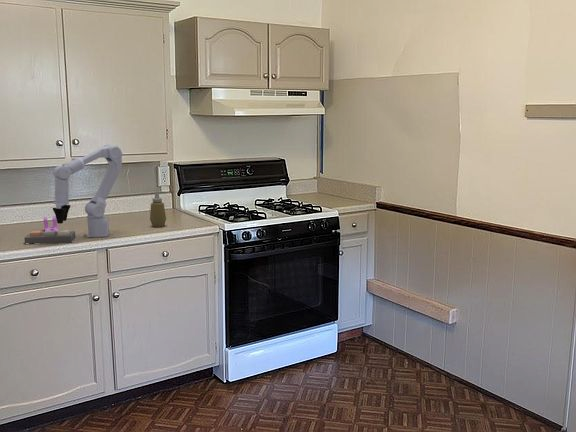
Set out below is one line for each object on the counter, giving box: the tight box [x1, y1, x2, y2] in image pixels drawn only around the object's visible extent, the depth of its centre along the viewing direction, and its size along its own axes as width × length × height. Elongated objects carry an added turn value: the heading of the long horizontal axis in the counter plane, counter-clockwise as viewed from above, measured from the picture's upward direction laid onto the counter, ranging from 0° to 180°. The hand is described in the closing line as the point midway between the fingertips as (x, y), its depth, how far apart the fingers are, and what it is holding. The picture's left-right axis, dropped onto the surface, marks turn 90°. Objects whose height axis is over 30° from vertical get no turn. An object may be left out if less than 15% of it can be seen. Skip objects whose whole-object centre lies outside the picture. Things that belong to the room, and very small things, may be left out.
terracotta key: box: [29, 230, 43, 236], centre depth 270 cm, size 4×4×3 cm
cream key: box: [58, 229, 71, 235], centre depth 272 cm, size 4×4×3 cm
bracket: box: [43, 215, 60, 232], centre depth 290 cm, size 13×6×7 cm, turn 28°
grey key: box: [44, 230, 56, 236], centre depth 271 cm, size 4×4×3 cm
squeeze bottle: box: [149, 190, 167, 228], centre depth 302 cm, size 8×8×18 cm
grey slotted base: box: [23, 230, 77, 244], centre depth 272 cm, size 20×10×3 cm, turn 99°
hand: (61, 222), depth 271 cm, fingers open, 7 cm apart
